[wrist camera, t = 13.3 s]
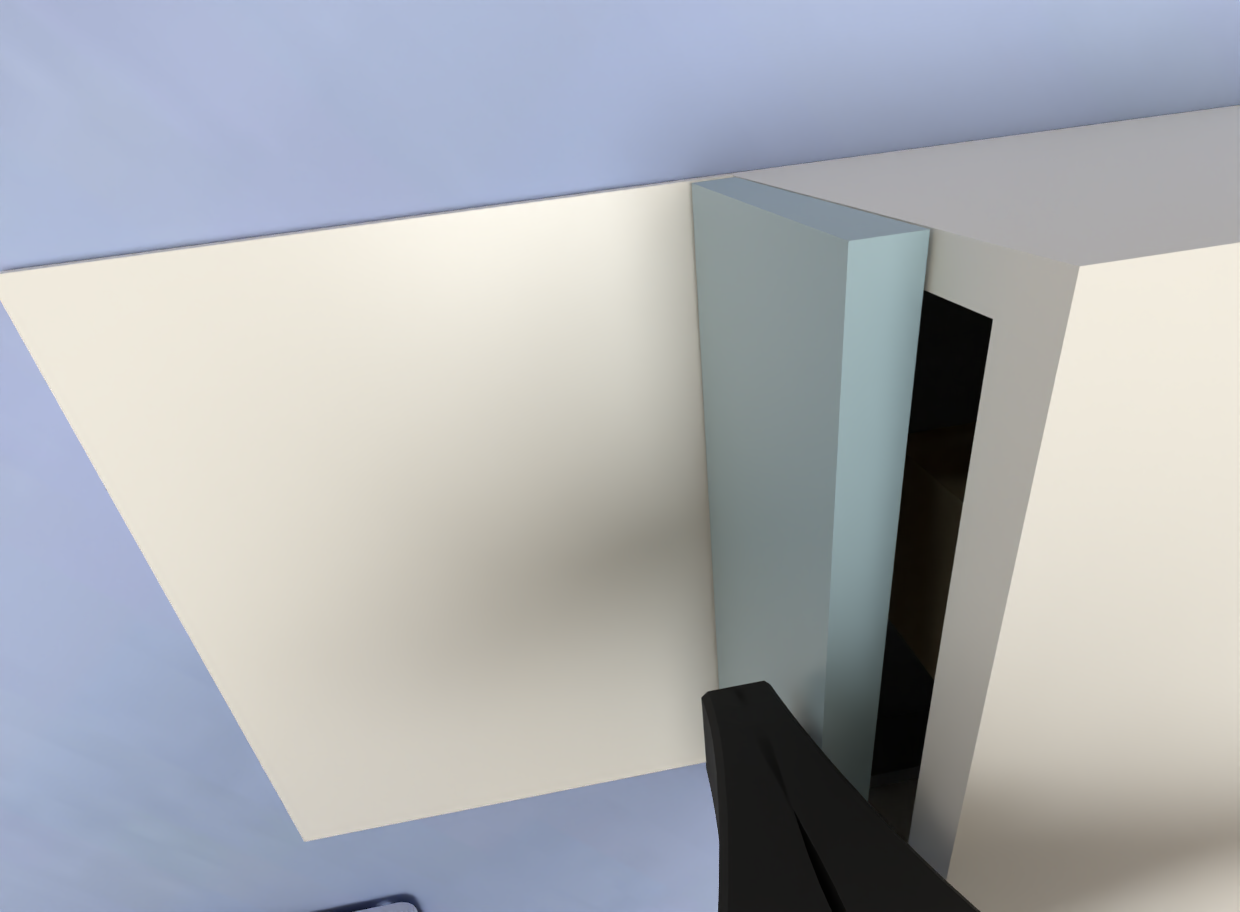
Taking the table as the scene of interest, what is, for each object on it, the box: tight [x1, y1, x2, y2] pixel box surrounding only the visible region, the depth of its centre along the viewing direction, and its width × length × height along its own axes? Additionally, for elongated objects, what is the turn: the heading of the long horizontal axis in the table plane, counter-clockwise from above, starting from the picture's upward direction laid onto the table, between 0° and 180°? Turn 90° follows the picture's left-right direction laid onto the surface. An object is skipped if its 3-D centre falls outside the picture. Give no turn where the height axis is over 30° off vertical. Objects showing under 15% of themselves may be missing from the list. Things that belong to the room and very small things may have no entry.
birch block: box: [888, 422, 976, 681], centre depth 13 cm, size 4×4×5 cm
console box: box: [0, 105, 1240, 912], centre depth 12 cm, size 24×16×9 cm, turn 96°
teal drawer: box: [691, 177, 993, 802], centre depth 13 cm, size 11×16×6 cm
